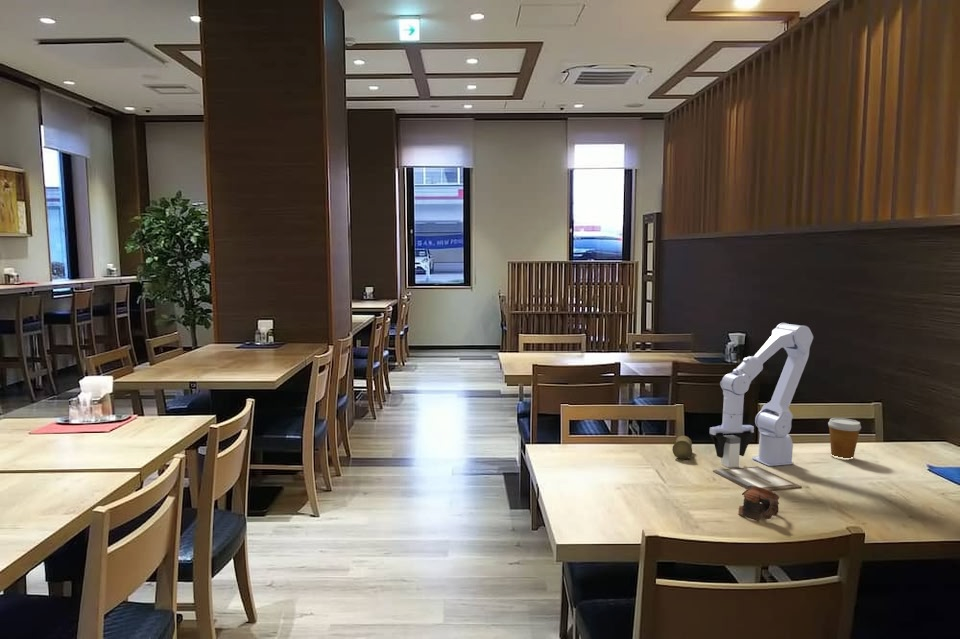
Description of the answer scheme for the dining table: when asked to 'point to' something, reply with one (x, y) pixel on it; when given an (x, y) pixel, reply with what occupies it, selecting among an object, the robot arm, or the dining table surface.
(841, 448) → the disposable coffee cup
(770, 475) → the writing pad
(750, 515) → the pottery mug
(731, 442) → the long rectangular beam
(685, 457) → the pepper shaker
